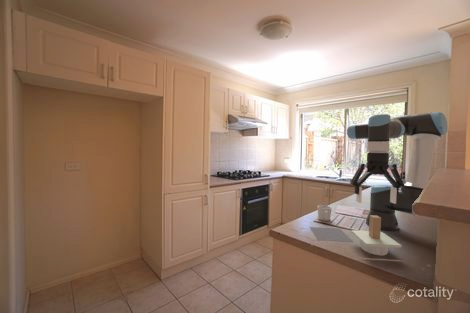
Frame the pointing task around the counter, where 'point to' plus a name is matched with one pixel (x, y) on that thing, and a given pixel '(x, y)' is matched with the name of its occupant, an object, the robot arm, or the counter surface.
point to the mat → (330, 234)
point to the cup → (324, 212)
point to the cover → (375, 235)
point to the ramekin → (375, 249)
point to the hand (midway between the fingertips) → (375, 202)
